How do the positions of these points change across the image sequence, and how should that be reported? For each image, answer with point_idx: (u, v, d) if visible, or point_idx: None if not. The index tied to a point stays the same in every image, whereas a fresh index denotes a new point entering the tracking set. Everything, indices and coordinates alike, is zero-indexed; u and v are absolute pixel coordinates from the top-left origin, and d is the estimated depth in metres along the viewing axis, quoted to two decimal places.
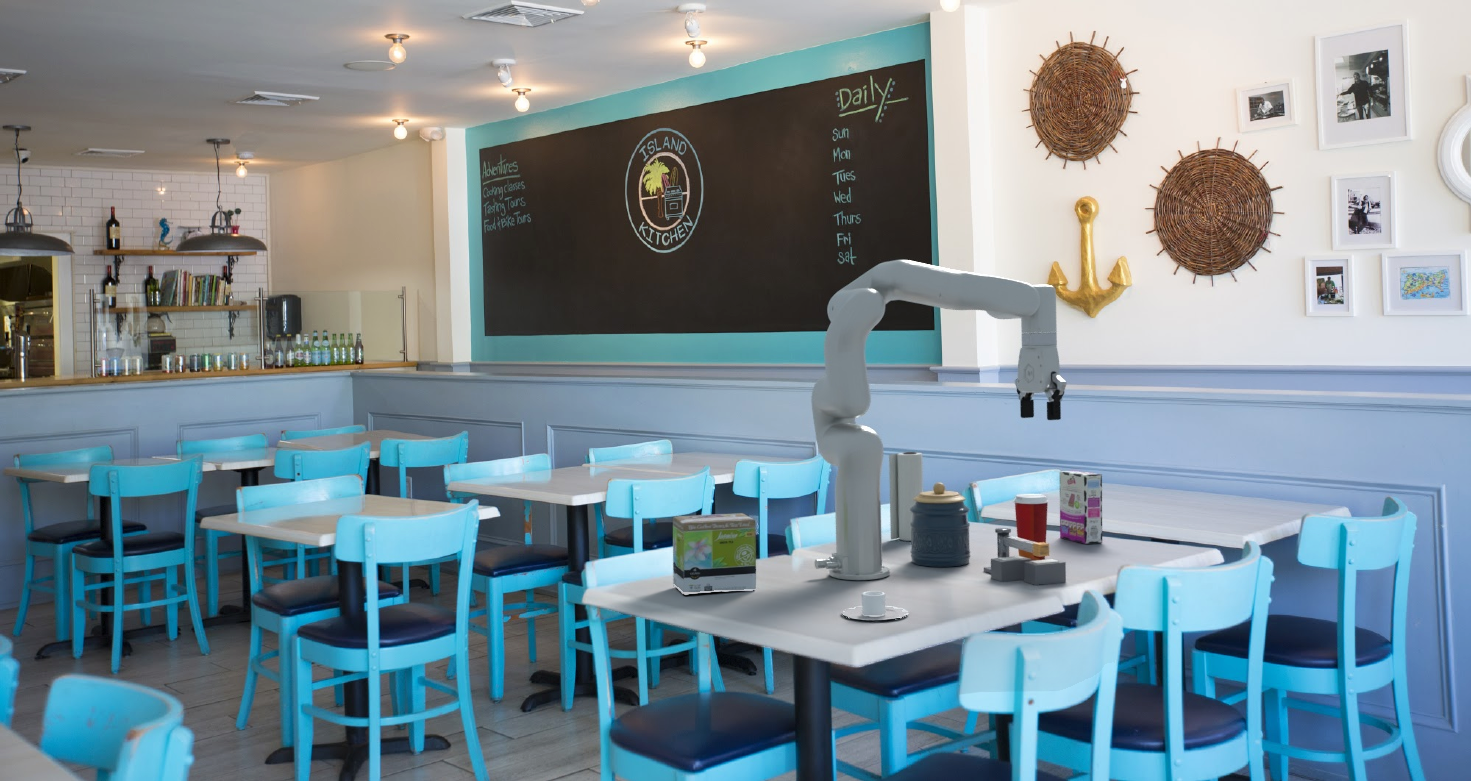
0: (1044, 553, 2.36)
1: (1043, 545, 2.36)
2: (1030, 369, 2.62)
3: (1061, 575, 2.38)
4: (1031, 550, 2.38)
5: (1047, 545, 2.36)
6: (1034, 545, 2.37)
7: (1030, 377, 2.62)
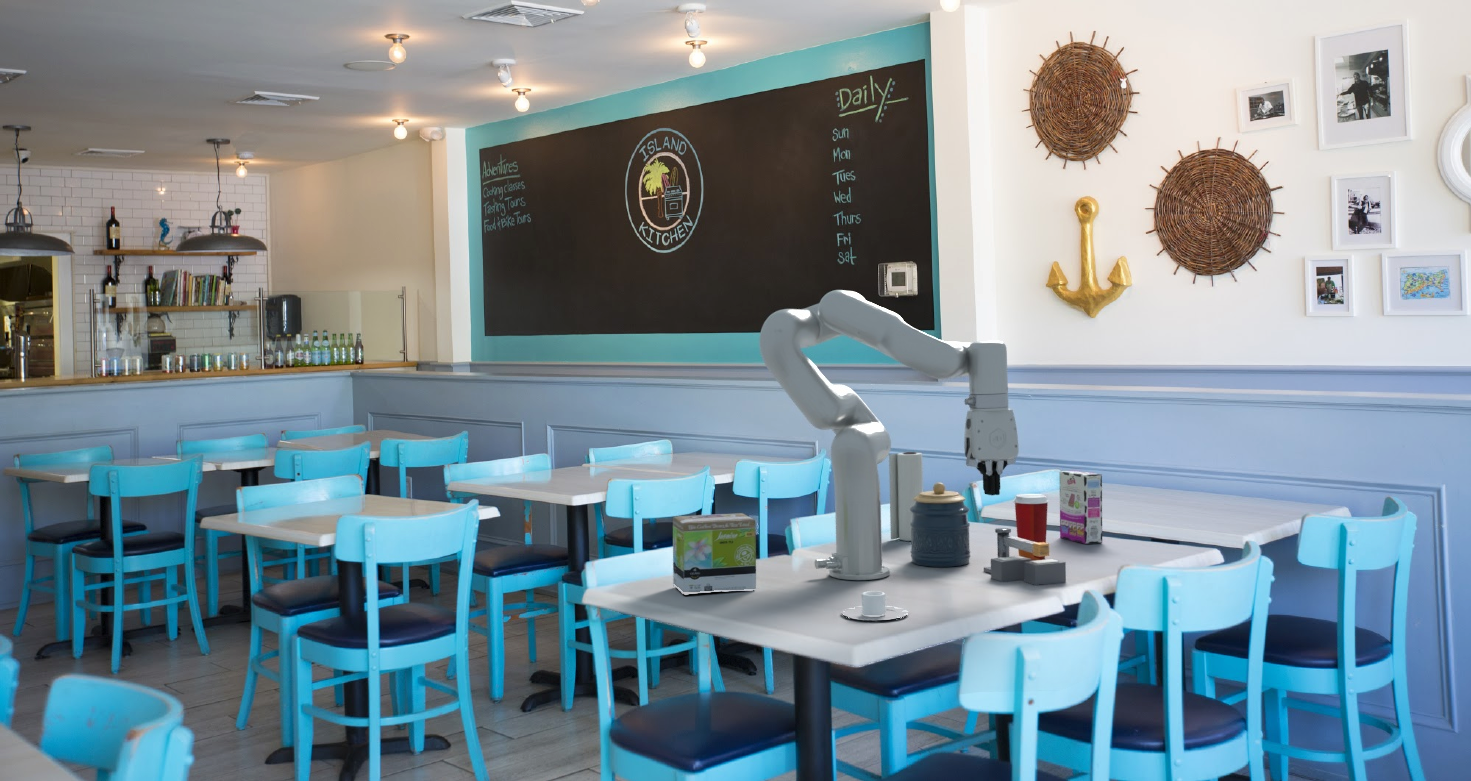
0: (1044, 553, 2.36)
1: (1043, 545, 2.36)
2: (999, 434, 2.36)
3: (1061, 575, 2.38)
4: (1031, 550, 2.38)
5: (1047, 545, 2.36)
6: (1034, 545, 2.37)
7: (999, 442, 2.36)
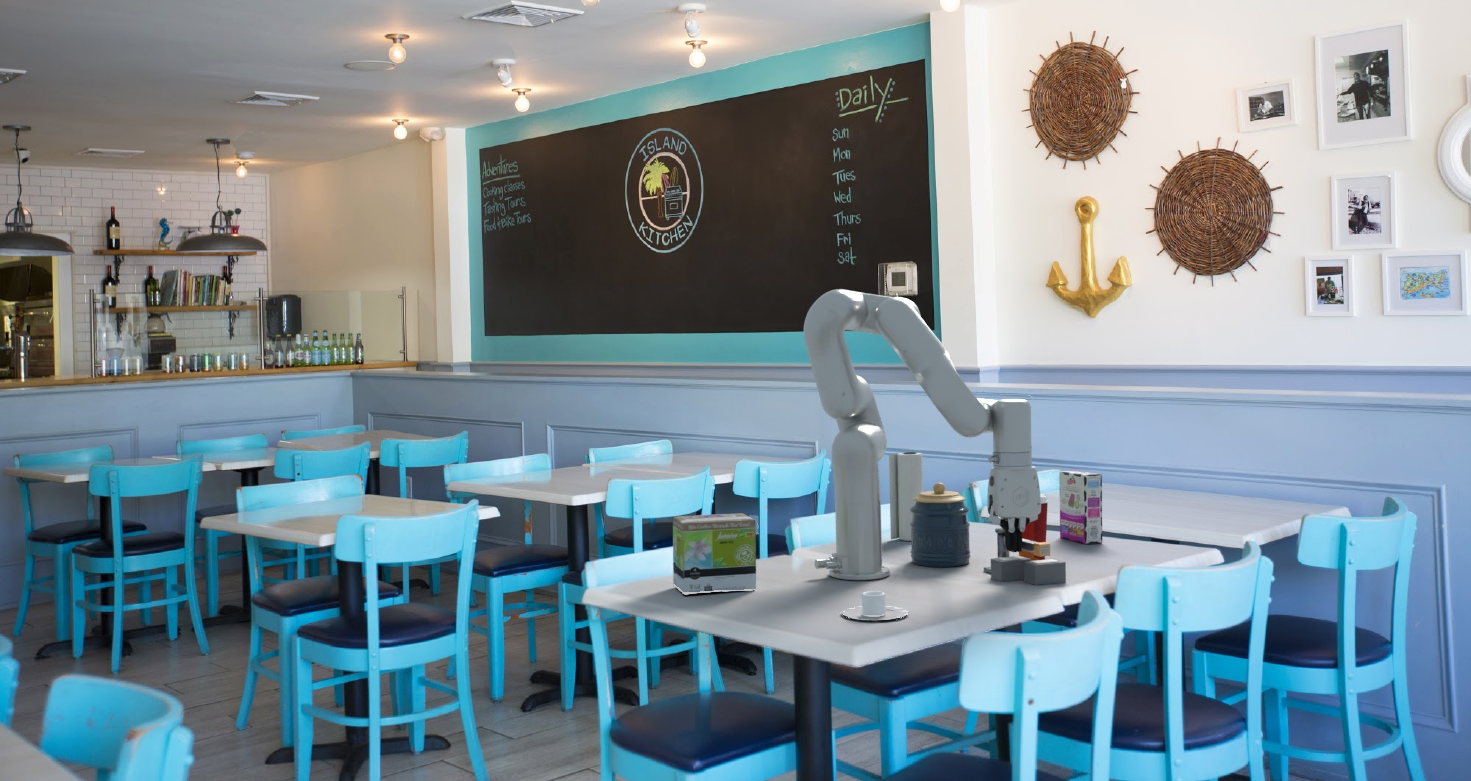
0: (1045, 553, 2.36)
1: (1044, 545, 2.36)
2: (1022, 492, 2.38)
3: (1061, 575, 2.38)
4: (1032, 550, 2.38)
5: (1048, 545, 2.36)
6: (1035, 545, 2.37)
7: (1022, 500, 2.38)
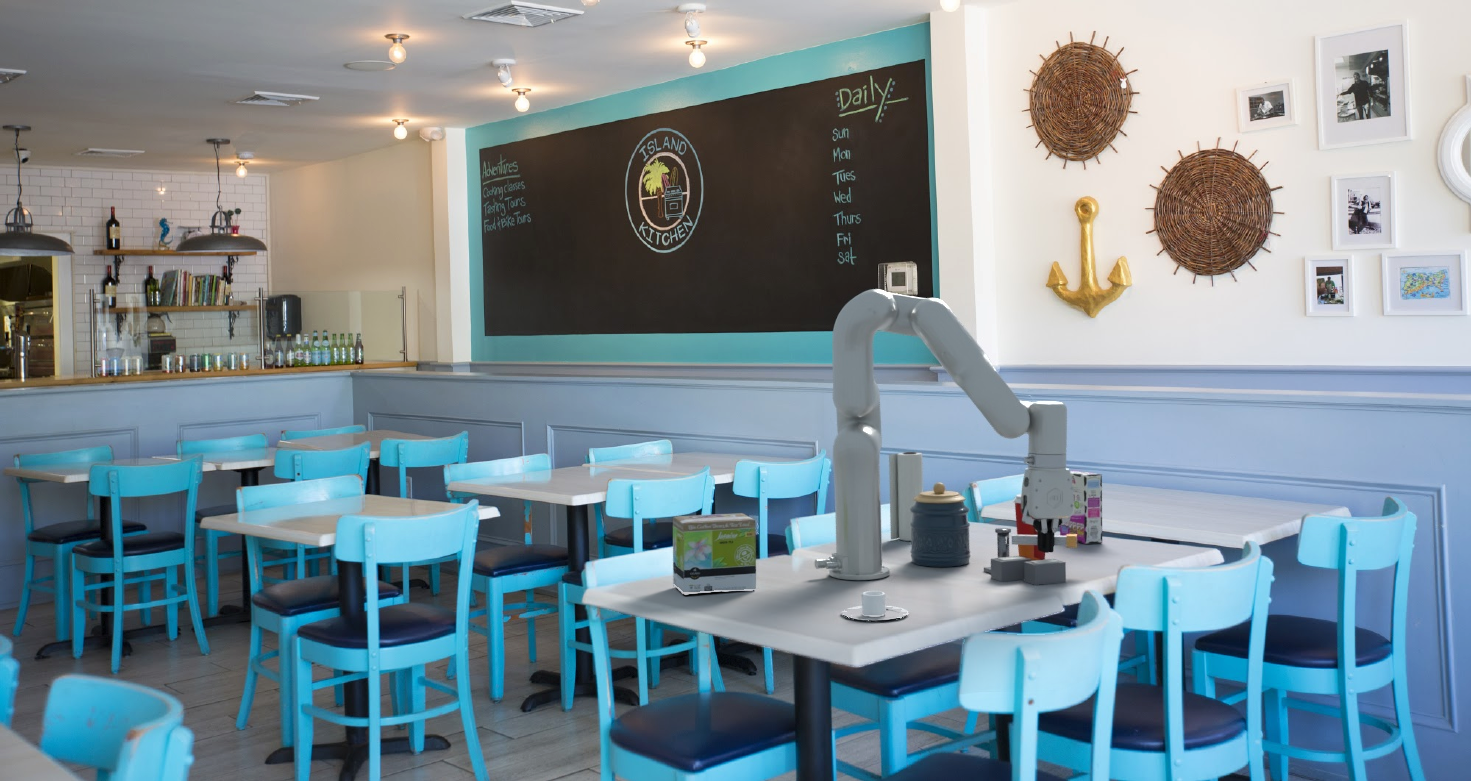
0: None
1: (1076, 536, 2.45)
2: (1055, 494, 2.41)
3: (1061, 575, 2.38)
4: (1062, 543, 2.45)
5: None
6: (1069, 537, 2.44)
7: (1056, 502, 2.41)
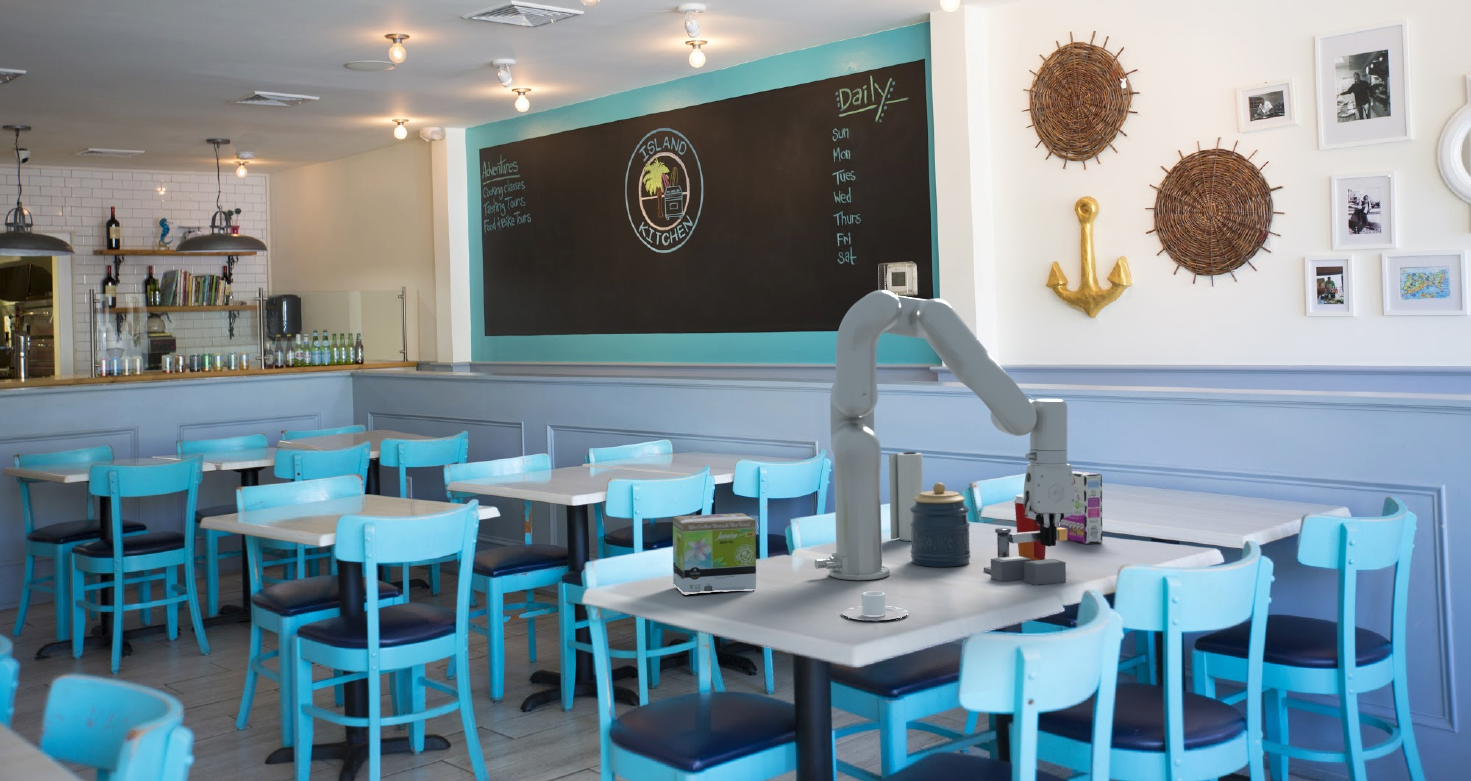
0: None
1: None
2: (1057, 489, 2.47)
3: (1061, 575, 2.38)
4: None
5: None
6: (1061, 531, 2.53)
7: (1058, 496, 2.47)
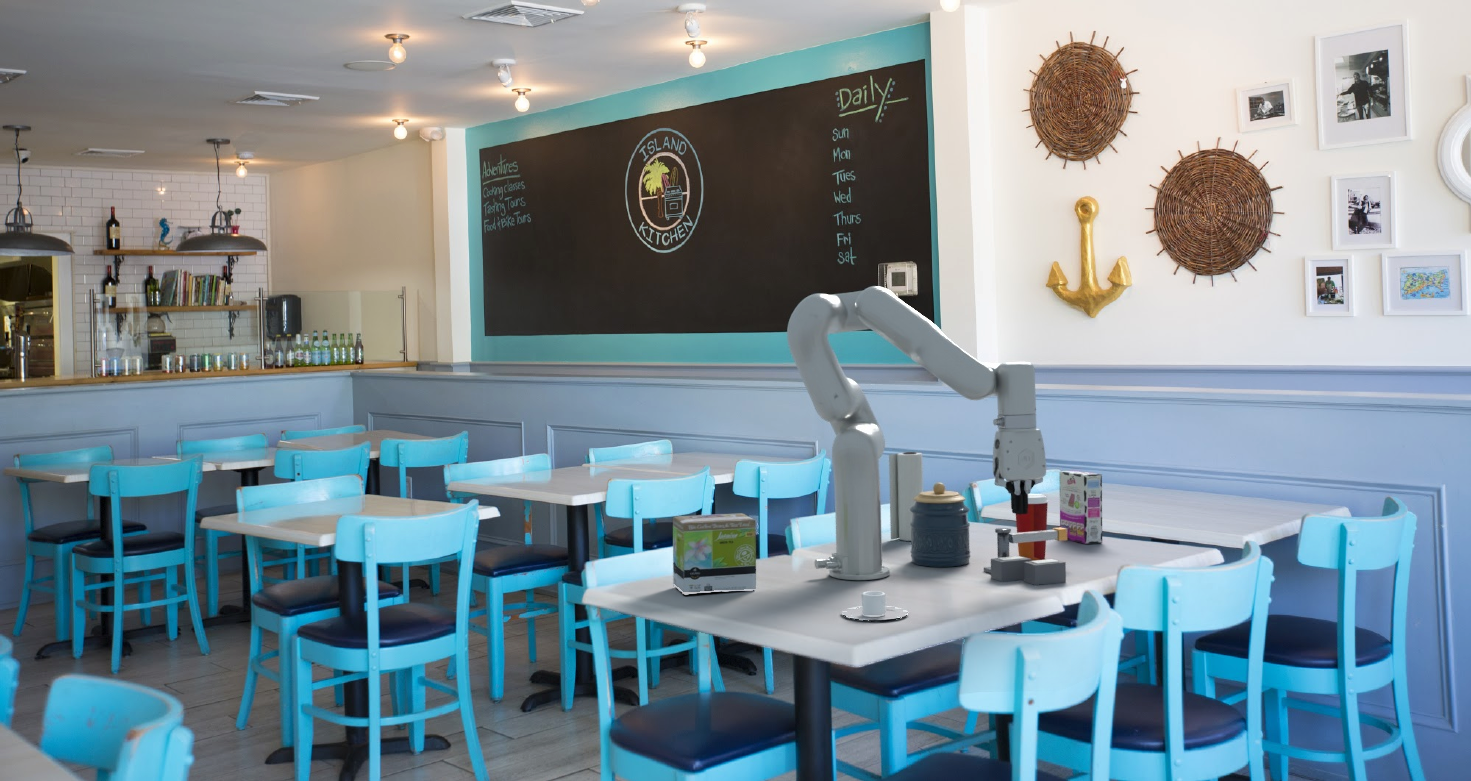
0: None
1: None
2: (1027, 454, 2.39)
3: (1061, 575, 2.38)
4: (1054, 537, 2.53)
5: None
6: (1061, 531, 2.53)
7: (1028, 462, 2.39)
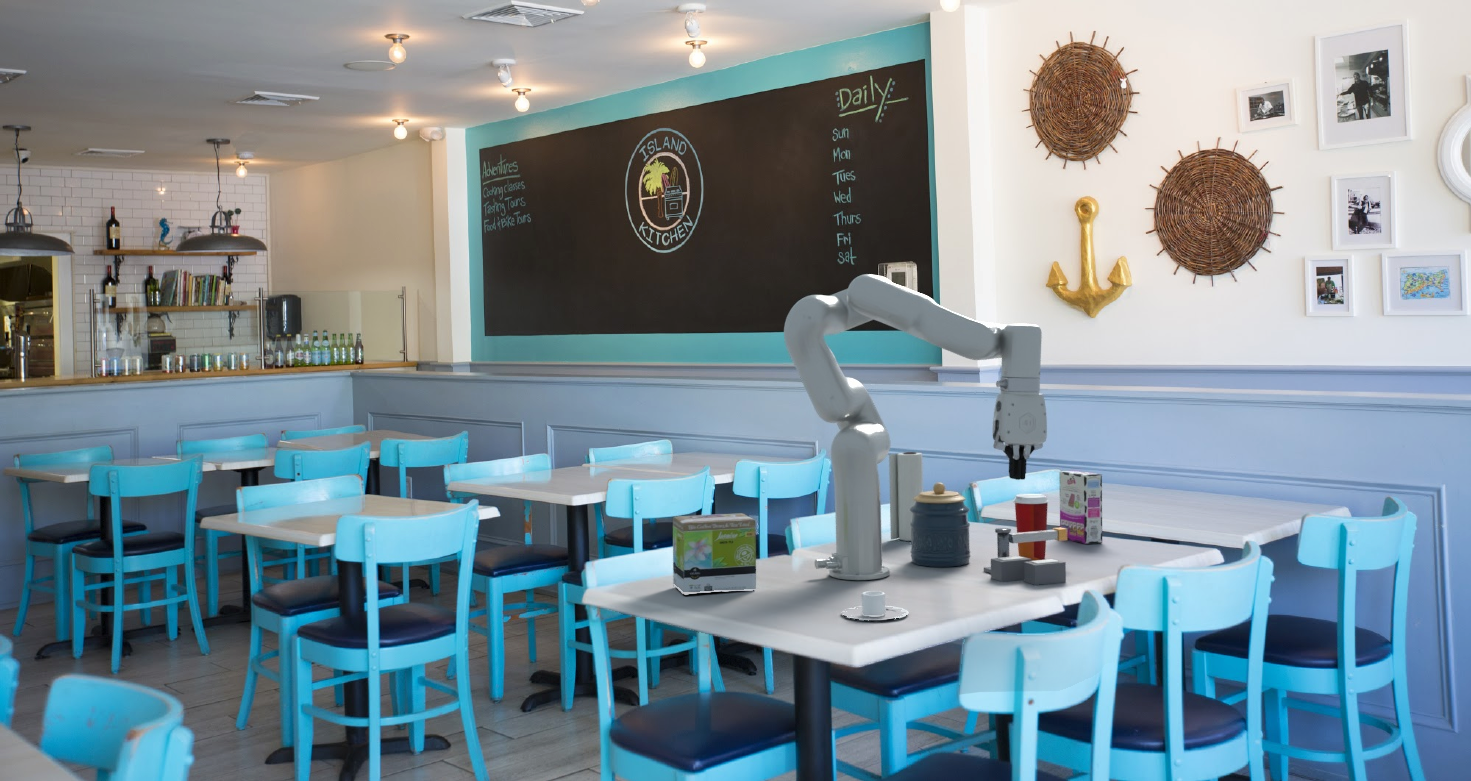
0: None
1: None
2: (1028, 419, 2.34)
3: (1061, 575, 2.38)
4: (1054, 537, 2.53)
5: None
6: (1061, 531, 2.53)
7: (1029, 427, 2.34)
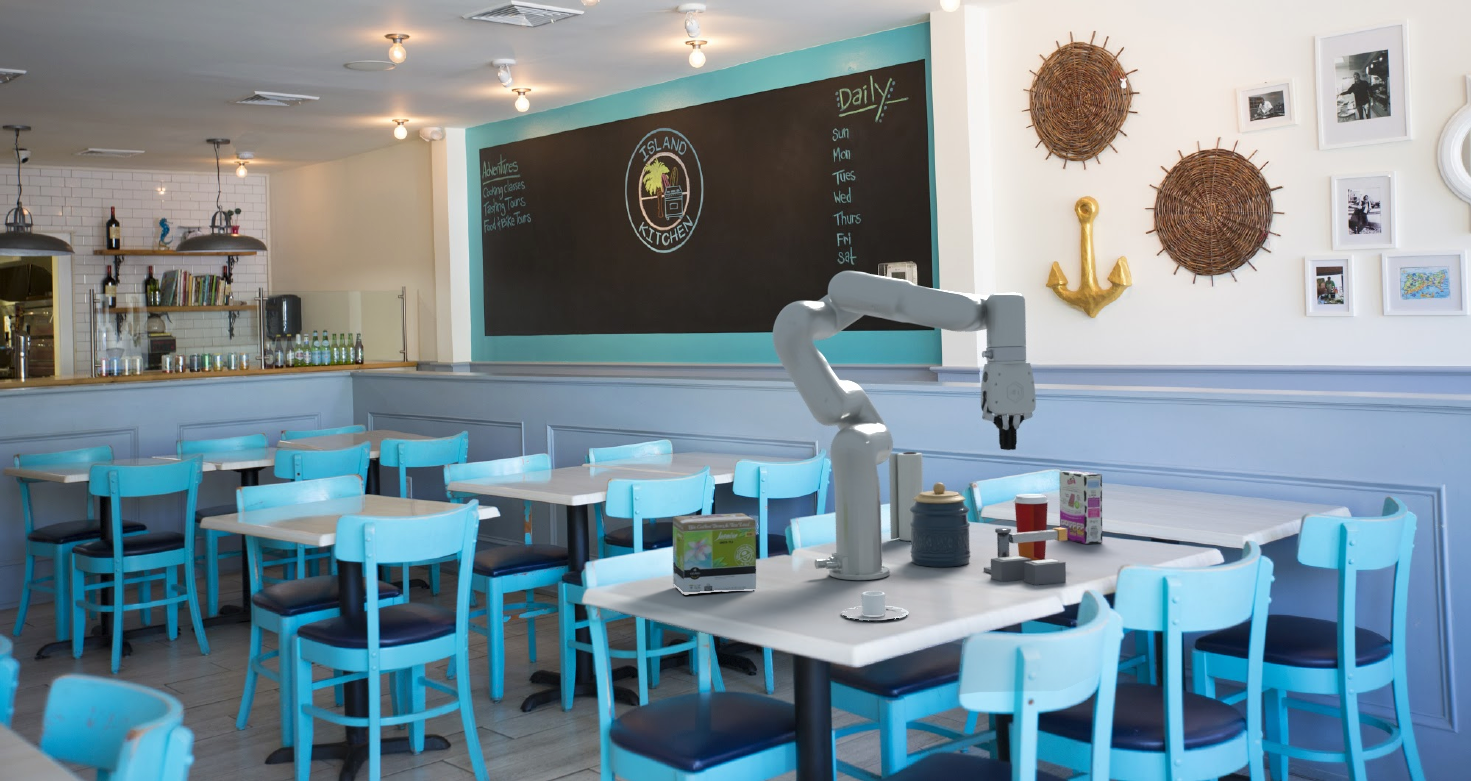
0: None
1: None
2: (1016, 388, 2.33)
3: (1061, 575, 2.38)
4: (1054, 537, 2.53)
5: None
6: (1061, 531, 2.53)
7: (1017, 396, 2.33)
